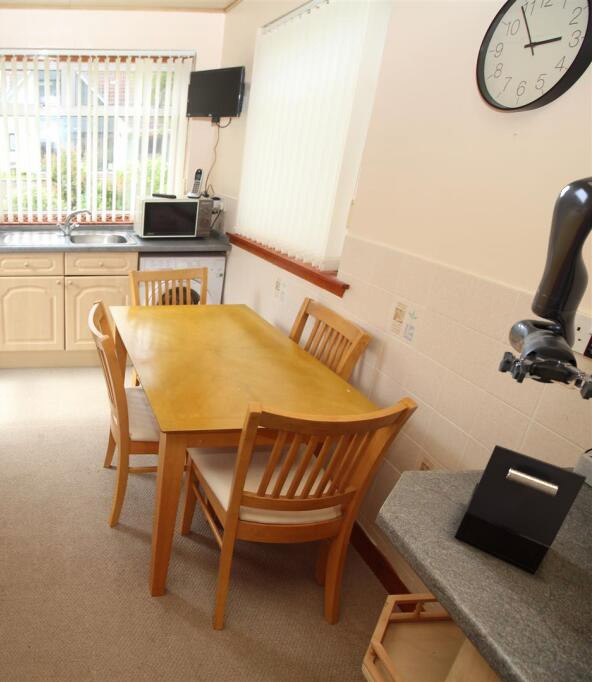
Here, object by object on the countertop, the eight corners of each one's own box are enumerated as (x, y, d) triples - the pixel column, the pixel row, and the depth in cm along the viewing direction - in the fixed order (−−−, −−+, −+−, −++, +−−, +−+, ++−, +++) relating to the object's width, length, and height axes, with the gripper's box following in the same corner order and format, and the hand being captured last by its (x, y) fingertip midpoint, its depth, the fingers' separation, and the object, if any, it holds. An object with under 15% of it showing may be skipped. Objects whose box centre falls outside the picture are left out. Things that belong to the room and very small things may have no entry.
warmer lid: (495, 444, 77) (493, 453, 73) (586, 476, 70) (588, 487, 67) (467, 508, 81) (463, 520, 77) (550, 544, 74) (550, 559, 70)
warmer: (465, 506, 90) (476, 482, 88) (539, 538, 84) (553, 512, 81) (454, 537, 83) (465, 511, 81) (534, 575, 76) (549, 548, 74)
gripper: (507, 331, 96) (509, 354, 84) (606, 351, 88) (623, 379, 76) (493, 364, 99) (493, 391, 87) (588, 387, 90) (602, 420, 79)
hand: (554, 385), depth 81 cm, fingers open, 8 cm apart
